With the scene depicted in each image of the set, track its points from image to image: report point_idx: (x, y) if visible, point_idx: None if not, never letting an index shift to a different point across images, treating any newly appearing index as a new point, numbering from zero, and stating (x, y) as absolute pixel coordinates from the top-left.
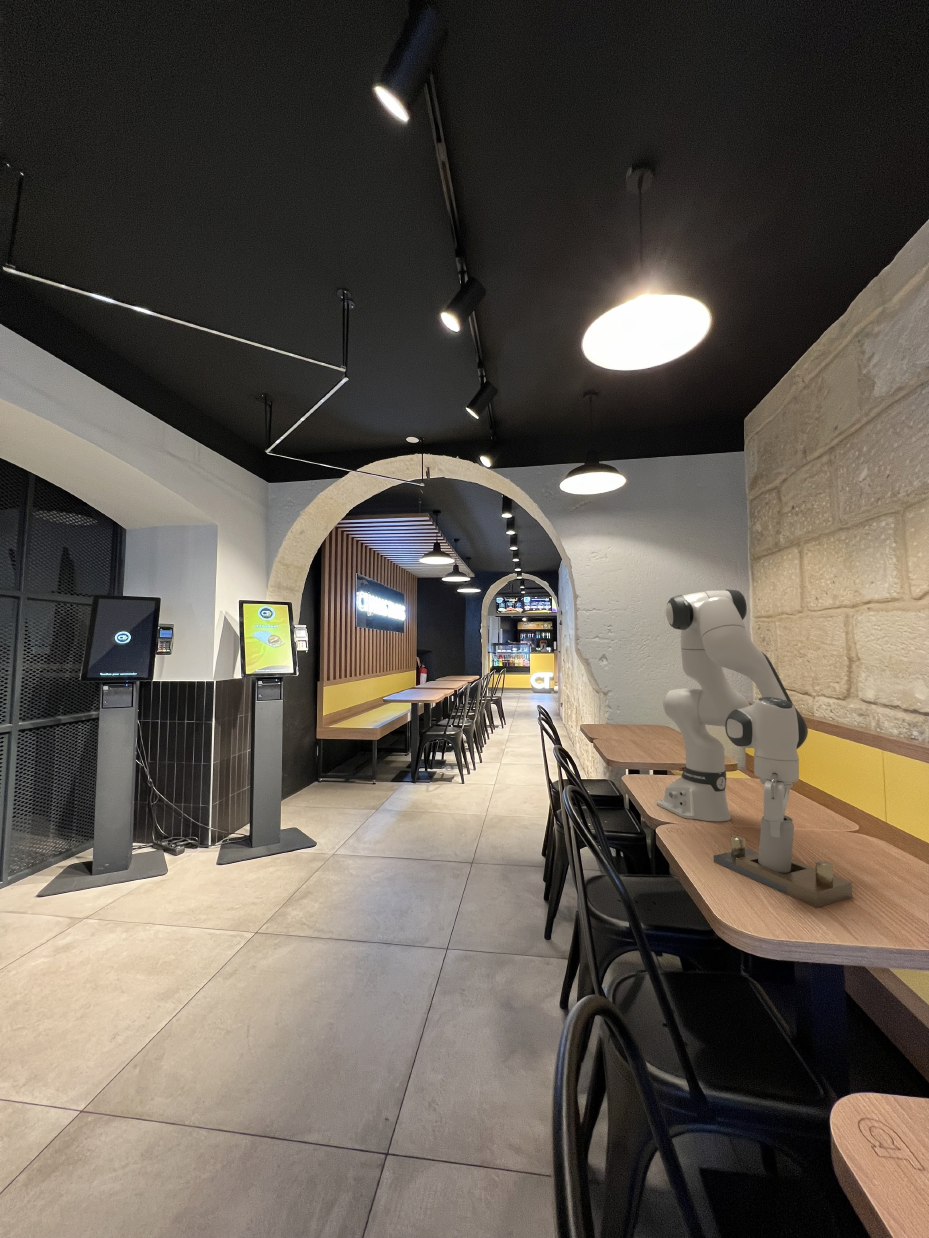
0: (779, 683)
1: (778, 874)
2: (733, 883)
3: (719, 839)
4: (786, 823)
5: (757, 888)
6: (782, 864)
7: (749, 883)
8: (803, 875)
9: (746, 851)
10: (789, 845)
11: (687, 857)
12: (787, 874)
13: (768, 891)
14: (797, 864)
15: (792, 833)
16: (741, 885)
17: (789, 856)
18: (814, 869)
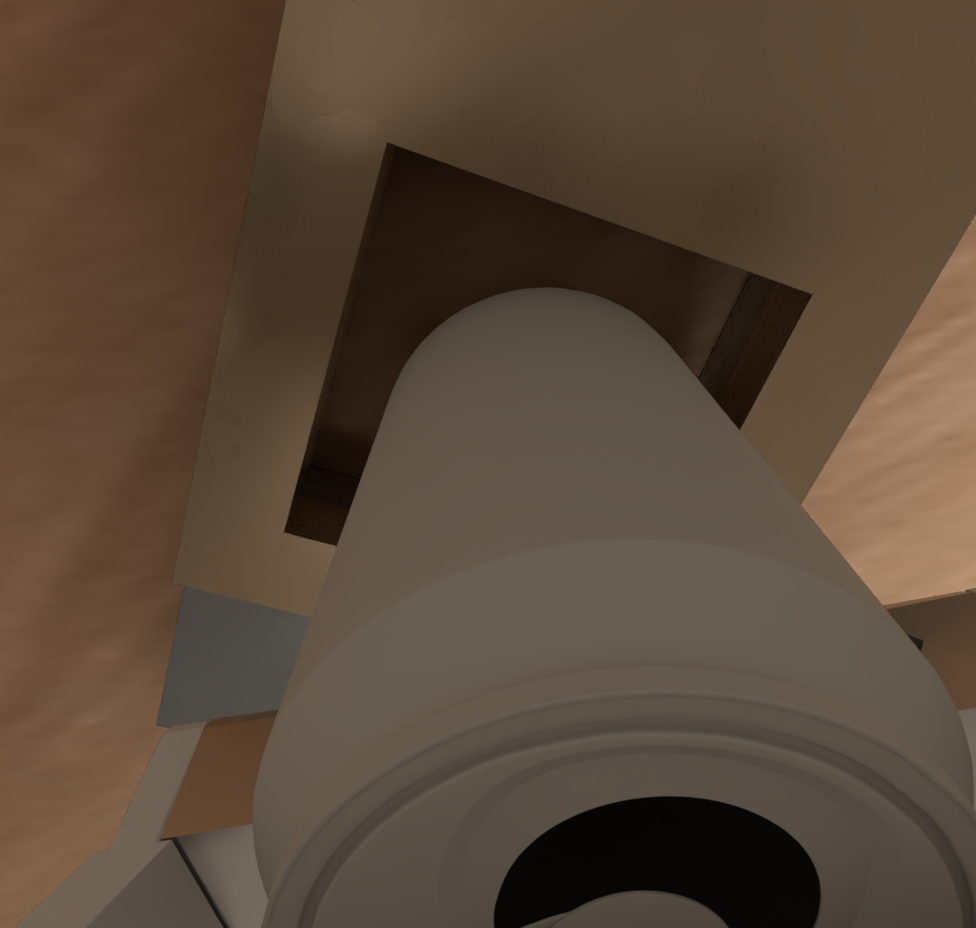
0: None
1: (852, 334)
2: (921, 569)
3: (51, 887)
4: (883, 718)
5: (907, 419)
6: (685, 364)
7: (836, 492)
8: (678, 114)
9: (240, 708)
10: (676, 399)
11: None
12: (783, 264)
13: (918, 337)
14: (336, 269)
15: (658, 468)
16: (924, 520)
17: (620, 340)
18: (328, 60)
